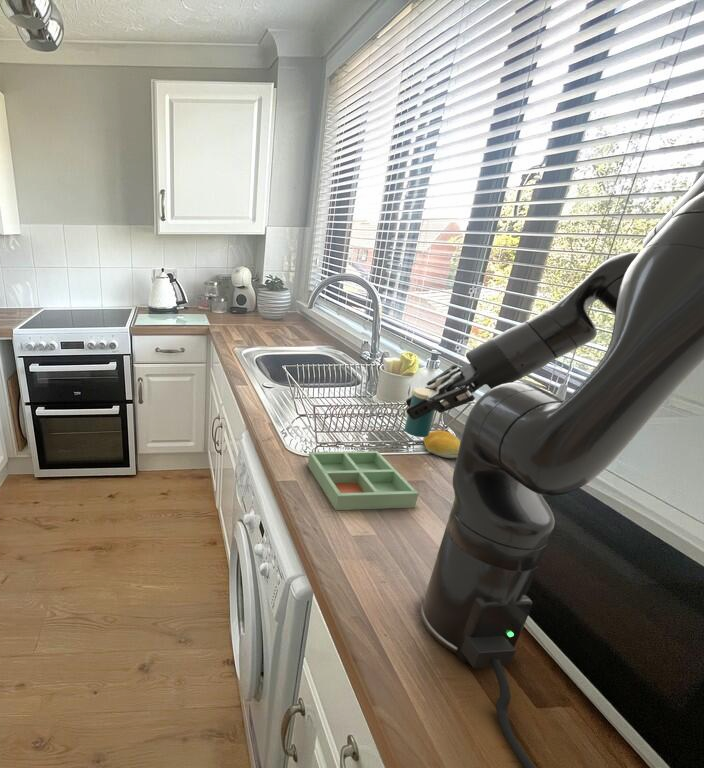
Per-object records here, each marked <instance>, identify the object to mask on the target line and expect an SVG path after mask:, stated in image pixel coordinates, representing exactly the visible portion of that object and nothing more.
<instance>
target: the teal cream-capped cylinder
mask: <svg viewBox="0 0 704 768" xmlns="http://www.w3.org/2000/svg"><path fill="white" fill-rule="evenodd" d="M435 392H436V391H434V390H431V389H427V388H425V387H415V388H414V389H413V392H412V396H411V397H412V399H411V403H410V407H411V406H412V405H414V404H416V403H418V402H420V401H422V400H424V399H426V398H427V397H428V396H430V395H432V394H433V393H435ZM435 413H436V411H434V410H433V411H431V412H429V413H427V414H425V415H423V416H421V417H419V418H417V419H415V420H413V419H411V417H410V416H409V415H408V414H407V417H406V420H405V426H404V432H405V433H407V434H408V435H410V436H413V437H416V438H417V437H418V438H424V437H427V436H428V435H429V433H430V432H431V428H432V423H433V420H434V416H435Z"/></svg>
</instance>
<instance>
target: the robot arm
mask: <svg viewBox="0 0 704 768" xmlns="http://www.w3.org/2000/svg"><path fill="white" fill-rule="evenodd" d="M596 301H599V302H600V304H602V305H604V307H606V308H607V309H608V310H609V311H610V312H611V313H612V314H613V315H614V321H613V328H612V334H611V338H610V341H609V344H608V347H607V349H606V351H605V353H604V355H603V356H602V358H601V359H600V361H599V363H598V364H597V365H596V367H594V369H593V370H592V371H591V373H590V374H589V375H588V376H587V377H586V378H585V379H584V381H583V382H582V383H581V384H580V385H579V386H578V387H577V388H576V389H575V390H574V391H573V392H572V393H571V394H570V395H569V396H568V397H566V399H565V398H562V397H560V396H558V395H556V394H554V393H551V392H549V391H547V390H545V389H542V388H540V387H539V386H535V385H532V384H529V383H526V382H518V380H520V379H522V378H525V377H528V375H530V374H533V373H535V372H537V371H539V370H540V369H542V368H544V367H545V366H547V365H548V364H550V363H552V362H553V361H555V360H556V359H559V358H561V357H562V356H565V355H566V354H568V353H570V352H572V351H574V350H576V349H579V348H581V347H583V346H584V345H587V344H588V343H591V341H593V340H594V339H596V337H597V335H598V331H597V328H596V326H595V323H594V321H593V320H592V319H591V316H590V315H589V312H588V309H589V308H590V307H591V305H593V304H594V303H595V302H596ZM465 358H466V359H467V360H468V362H469V363H468V364H466V365H464V366H463V365H462V366H461V367H459V366H458V365H457V364H452V365H451V366H450V367H448V368H447V369H446V370H444V371H442V372H441V373H440V374H438V375H437V376H436V377H434V378H432V379H431V380H429V381H428V382H427V383H426V386H425V387H424V388H427V389H431V390H434V391H436V392H435V393H433V394H432V395H430V396H428V397H427V398H426V399H424V400H422V401H420V402H418V403H416V404H414V405H412V406H411V407H410V403H411V399H412V396H410V397H408V398H407V399H406V400H405V403H406V405H407V408H406V409H405V410H406V411H405V412H406V414H407V416H408V415H409V416H410V417H411V419H413V420H415V419H417V418H419V417H421V416H423V415H425V414H427V413H429V412H431V411H433V410H434V411H435V412H437V413H438V414H441V413H444V412H447V411H450V410H452V409H455V408H458V407H460V406H463V405H466V404H468V403H471V402H473V401H474V400H475V399H476V397H475V396H474V394H475V392H476V391H478V390H479V389H481V388H482V387H483V386H485V385H486V386H488V387H489V388H490V389H488V390H487V391H486V392H485V393H484V394H483V395H481V396H480V397H479V399H478V400H477V401H476V402H475V403H474V405H473V407H472V408H471V410H470V411H469V414H468V415H467V418H466V421H465V423H464V426H463V430H462V433H461V438H460V446H459V451H458V455H457V458H456V461H455V464H454V469H453V474H452V488H453V492H454V499H453V503H452V507H451V509H450V513H449V517H448V520H447V524H446V526H445V530H444V532H443V536H442V540H441V542H440V544H439V548H438V552H437V556H436V558H435V562H434V565H433V568H432V572H431V574H430V579H429V581H428V584H427V588H426V592H425V595H424V598H423V600H422V602H421V606H420V609H419V614H420V615H419V616H420V619H421V622H422V624H423V626H424V628H425V629H426V631H427V632H428V633H429V634H430V635H431V637H432V638H433V639H435V641H436V642H438V644H440V645H442V647H444V648H445V649H447V650H448V651H450V652H452V653H453V654H454V655H456V657H457V658H458V660H459V661H460V662H461V663H463V664H470V665H471V667H472V668H473V669H484V668H486V669H487V668H492V669H493V672H494V674H495V676H496V679H497V683H498V688H499V696H498V699H497V701H496V704H495V712H496V716H497V720H498V722H499V726H500V729H501V732H502V733H503V734H502V735H504V737H505V739H506V742H507V743H508V745H509V746H510V748H511V750H512V752H513V753H514V755H515V757H516V759H518V761H519V763H520V764H521V765H522V767H523V768H536V766H535V765H534V763H533V762H532V761H531V760H530V757H528V755H527V753H526V752H525V750H523V747H522V746H521V745H520V743H519V741H518V740H517V737H516V736H515V734H514V731H513V729H512V726H511V724H510V723H511V722H510V720H509V716H508V713H507V712H508V711H507V710H508V707H509V705H510V702H511V689H510V684H509V681H508V678H507V676H506V673H505V671H504V667H510V666H511V663H512V661H513V658H514V657H515V653H516V652H517V650H516V649H515V647H516V645H517V642H518V640H519V638H520V635H521V633H522V631H523V628H524V626H525V624H526V622H527V619H528V617H529V614H530V612H531V610H532V608H533V605H534V602H533V601H532V600H531V598H530V597H529V596H528V595H527V593H528V591H529V589H530V587H531V584H532V583H533V579H534V577H535V574H536V572H537V569H538V567H539V564H540V563H541V560H542V558H543V555H544V553H545V551H546V549H547V546H548V544H549V542H550V539H551V537H552V535H553V532H554V529H555V526H556V525H555V524H556V520H555V515H554V513H553V511H552V509H551V508H550V506H549V504H548V503H547V501H546V499H545V498H544V497H543V496H548V497H555V496H563V495H566V494H569V493H572V492H575V491H576V490H579V489H580V488H582V487H584V486H586V485H587V484H589V483H590V482H592V481H593V480H594V479H596V478H597V477H598V476H600V475H601V473H603V472H604V470H606V469H607V468H608V467H609V466H610V465H611V464H612V463H613V462H614V461H615V460H616V459H617V457H619V456H620V454H621V453H622V452H623V451H624V450H625V449H626V448H627V446H628V445H630V443H631V442H632V440H633V439H634V438H635V437H636V436H637V435H638V433H640V431H641V430H642V429H643V427H645V425H646V424H647V423H648V422H649V420H650V419H651V418H652V417H654V415H655V413H656V412H658V410H659V409H660V408H661V407H662V405H663V404H664V403H665V402H666V401H667V400H668V398H670V396H671V395H672V394H673V393H674V392H675V391H676V390H677V388H678V387H679V386H681V385H682V383H684V382H685V380H686V379H687V378H688V377H689V376H690V375H691V374H692V373H693V372H694V371H695V370H696V369H697V368H698V367H699V366H700V365H701V364H702V363H703V362H704V173H703V174H702V175H701V176H700V178H699V179H698V180H696V182H695V183H694V184H693V185H692V186H691V188H690V189H689V190H688V191H687V192H686V193H685V194H684V195H682V197H681V198H680V199H679V200H678V201H677V202H676V204H674V206H673V207H672V208H671V209H670V210H669V211H668V212H667V213H666V214H665V216H663V217H662V218H661V220H659V222H658V223H657V224H655V226H654V227H653V228H652V229H651V230H650V231H649V232H648V234H647V235H646V237H645V238H644V239H643V243H642V250H641V251H639V252H638V251H631V252H624V253H621V254H617V255H615V256H612V257H610V258H608V259H607V260H605V261H603V262H602V263H601V264H600V265H598V266H597V267H596V268H595V269H594V270H592V271H591V272H590V273H589V274H588V275H587V277H585V278H584V279H583V280H582V281H581V282H580V283H579V284H578V285H576V286H575V287H574V288H572V290H570V292H568V293H567V294H566V295H565V296H563V297H562V298H561V299H560V300H559V301H558V302H556V303H554V304H553V305H551V306H550V307H549V308H547V309H545V310H543V311H541V312H540V313H538V314H536V315H534V316H533V317H531V318H529V319H528V320H526V321H523V322H522V323H519V324H517V325H515V326H512V327H511V328H508V329H506V330H504V331H503V332H501V333H498V334H497V335H496V336H494V337H492V338H490V339H488V340H487V341H485V342H484V343H482V344H480V345H478V346H476V347H474V348H473V349H471V350H470V351H467V352H466V354H465Z"/></svg>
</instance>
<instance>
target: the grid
mask: <svg viewBox="0 0 704 768" xmlns="http://www.w3.org/2000/svg"><path fill="white" fill-rule="evenodd" d="M307 466H308V469H309V470H310V472H311V473H312V474H313V476H314V478H315V479H316V481H317V483H318V484H319V486H320V488H321V489H322V491H323V492H324V494H325V495H326V497H327V499H328V500H329V503H331V505H332V506H333V508H334V510H335V511H349V510H350V511H351V510H352V511H354V510H379V509H409V508H410V509H411V508H412V509H413V508H416V504H417V501H418V499H419V498H418V497H419V492H418V491H417V490H416V489H415V488H414V487H413V486H412V485H411V484H410V483H409V481H408V480H407V479H406V478H405V477H404V476H402V475H401V473H400V472H399V471H398V470H397V469H396V468H394V466H393V465H392V464H391V463H390V462H389V461H388V460H387V459H385V457H384V456H383V455H382V454H381V453H380V452H379V451H378V450H366V451H365V450H363V451H362V450H361V451H360V450H359V451H316V452H315V451H314V452H313V451H311V452H309V453H308V459H307Z"/></svg>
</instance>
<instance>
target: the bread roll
mask: <svg viewBox="0 0 704 768" xmlns="http://www.w3.org/2000/svg"><path fill="white" fill-rule="evenodd" d="M422 438H423V439H422V441H423V444H424V445H425V446H424V447H425V449H426V450H427V452H429V453H431V454H433V455H435V456H438V457H440V458H444V459H457V455H458V451H459V446H460V442H461V440H460V439H459V438H458V437H457V436H456V435H454V433H451V432H449V431H445V430H433V431H429V435H428V436H427V437H422Z"/></svg>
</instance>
